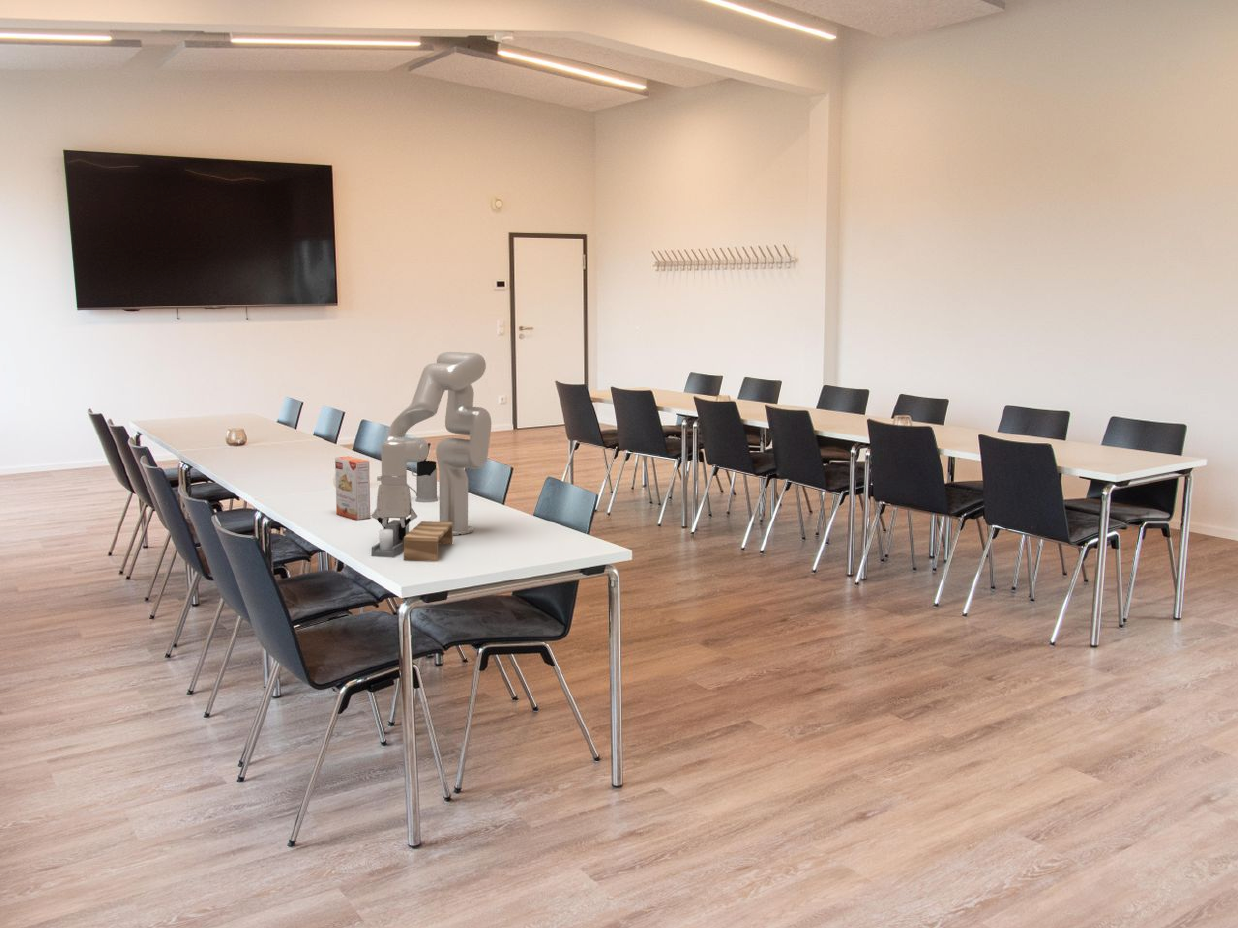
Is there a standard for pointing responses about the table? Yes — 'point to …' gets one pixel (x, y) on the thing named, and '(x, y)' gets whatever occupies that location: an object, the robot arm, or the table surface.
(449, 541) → the curved wooden channel
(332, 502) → the table surface
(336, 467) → the cracker box
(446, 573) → the table surface
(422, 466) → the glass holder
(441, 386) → the robot arm
